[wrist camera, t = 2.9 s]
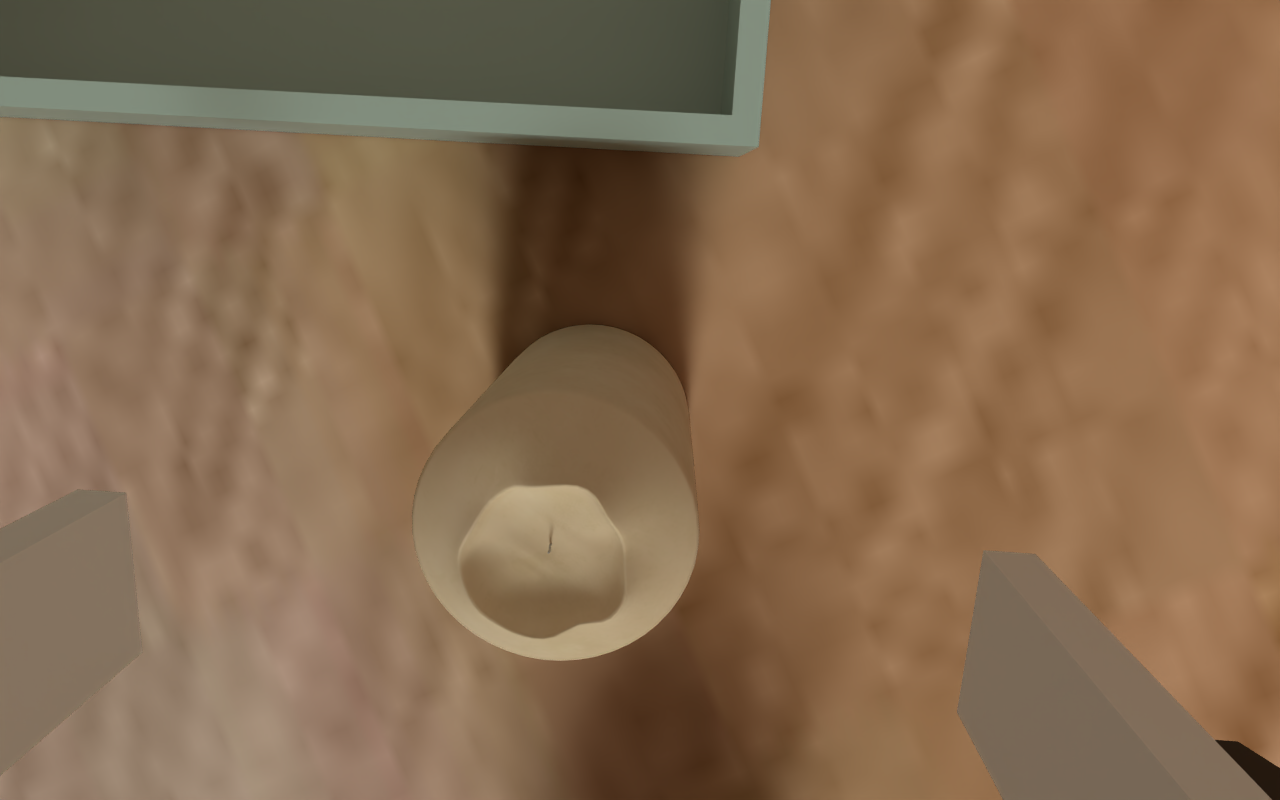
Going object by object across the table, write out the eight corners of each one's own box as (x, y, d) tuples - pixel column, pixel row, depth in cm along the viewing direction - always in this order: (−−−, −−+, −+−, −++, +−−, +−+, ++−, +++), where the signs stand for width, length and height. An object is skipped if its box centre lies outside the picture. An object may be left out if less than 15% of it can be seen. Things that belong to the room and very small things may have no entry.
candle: (571, 282, 24) (503, 344, 14) (728, 398, 24) (767, 537, 15) (461, 434, 25) (327, 590, 15) (613, 542, 25) (579, 758, 16)
